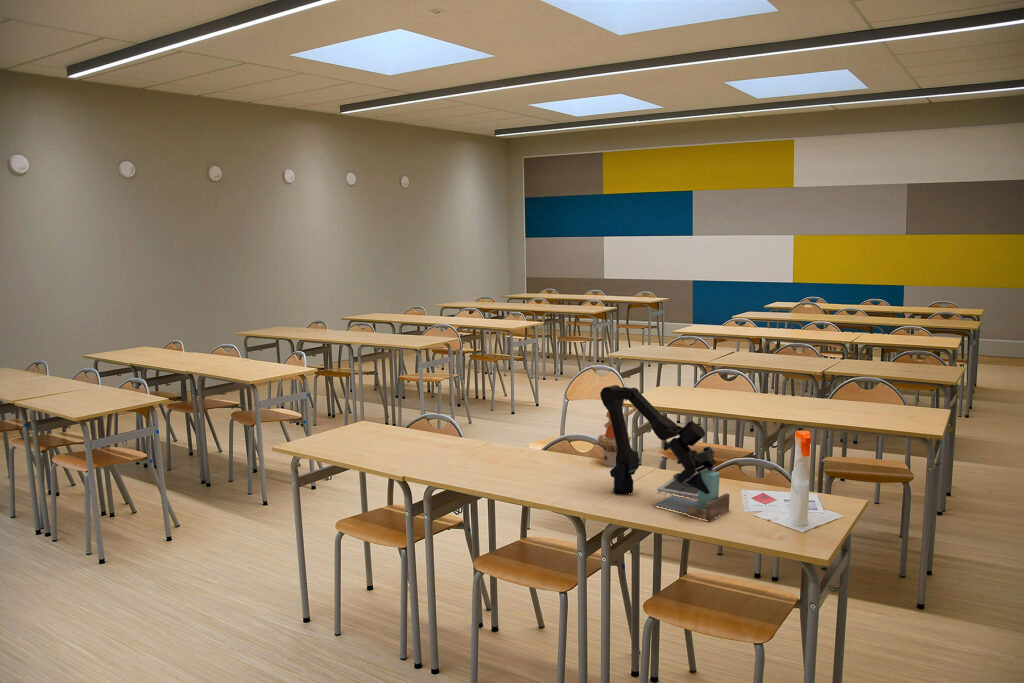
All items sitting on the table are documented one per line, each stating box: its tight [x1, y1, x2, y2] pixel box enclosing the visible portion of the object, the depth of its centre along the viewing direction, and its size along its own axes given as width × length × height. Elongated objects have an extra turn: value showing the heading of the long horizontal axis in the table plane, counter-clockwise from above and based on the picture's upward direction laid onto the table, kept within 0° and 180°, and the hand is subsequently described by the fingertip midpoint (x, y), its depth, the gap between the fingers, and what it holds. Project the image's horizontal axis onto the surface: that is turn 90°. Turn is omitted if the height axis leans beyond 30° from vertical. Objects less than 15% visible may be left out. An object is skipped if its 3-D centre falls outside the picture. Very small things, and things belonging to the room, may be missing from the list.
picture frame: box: [657, 472, 698, 500], centre depth 288 cm, size 16×3×21 cm
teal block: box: [696, 470, 721, 510], centre depth 261 cm, size 5×5×13 cm
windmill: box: [597, 406, 638, 468], centre depth 317 cm, size 17×14×30 cm
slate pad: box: [653, 495, 698, 514], centre depth 269 cm, size 13×13×1 cm
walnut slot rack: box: [688, 492, 730, 522], centre depth 261 cm, size 8×14×6 cm, turn 139°
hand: (712, 491), depth 260 cm, fingers closed on teal block, 5 cm apart
